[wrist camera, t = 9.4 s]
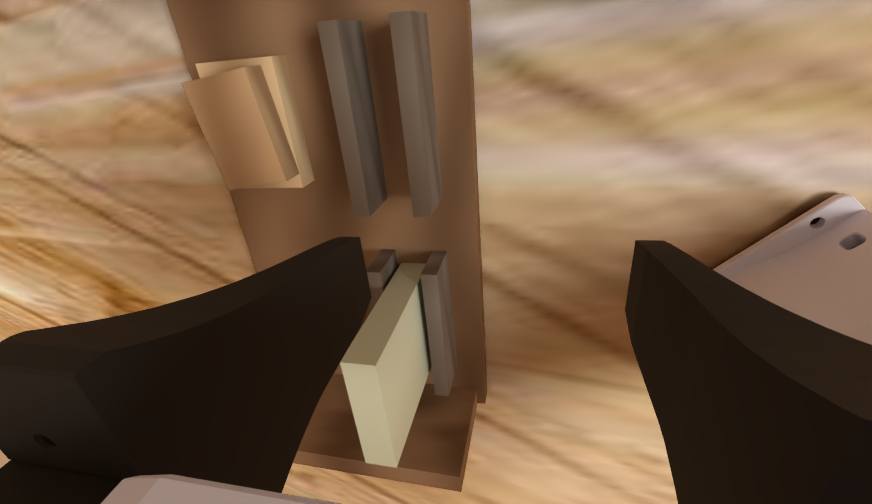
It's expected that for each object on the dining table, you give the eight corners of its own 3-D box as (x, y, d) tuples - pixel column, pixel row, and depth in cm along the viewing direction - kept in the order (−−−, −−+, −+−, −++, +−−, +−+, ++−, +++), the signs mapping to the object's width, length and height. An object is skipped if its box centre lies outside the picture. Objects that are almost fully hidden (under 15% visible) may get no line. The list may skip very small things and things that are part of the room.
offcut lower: (285, 54, 19) (270, 56, 18) (314, 180, 22) (303, 187, 21) (213, 61, 20) (195, 63, 19) (249, 181, 23) (235, 188, 22)
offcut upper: (260, 65, 18) (243, 67, 17) (299, 173, 20) (286, 181, 19) (200, 80, 19) (181, 83, 18) (243, 182, 21) (228, 190, 20)
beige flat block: (427, 263, 23) (375, 365, 16) (437, 349, 25) (396, 467, 18) (401, 262, 23) (339, 362, 16) (413, 346, 26) (365, 462, 19)
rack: (465, -113, 16) (414, -203, 10) (487, 391, 27) (470, 493, 21) (164, -57, 19) (-13, -96, 13) (299, 370, 31) (239, 453, 25)
